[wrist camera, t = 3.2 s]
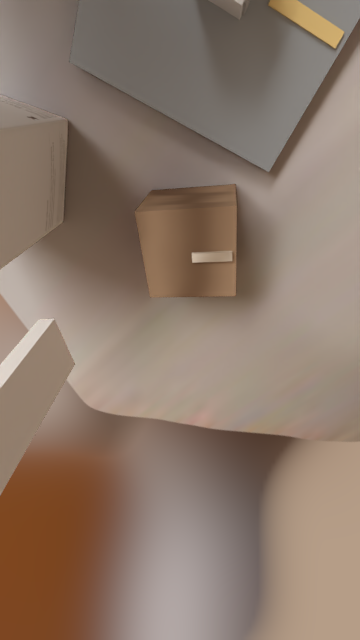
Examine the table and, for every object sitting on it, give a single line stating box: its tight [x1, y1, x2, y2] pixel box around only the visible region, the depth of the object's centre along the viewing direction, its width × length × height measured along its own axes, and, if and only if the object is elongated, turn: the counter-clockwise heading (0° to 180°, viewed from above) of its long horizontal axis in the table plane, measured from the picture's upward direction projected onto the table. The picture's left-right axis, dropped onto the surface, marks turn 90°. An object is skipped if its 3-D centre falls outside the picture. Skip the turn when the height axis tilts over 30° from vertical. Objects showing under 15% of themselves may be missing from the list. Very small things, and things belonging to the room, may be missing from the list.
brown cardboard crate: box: [134, 184, 237, 297], centre depth 26 cm, size 7×7×6 cm
